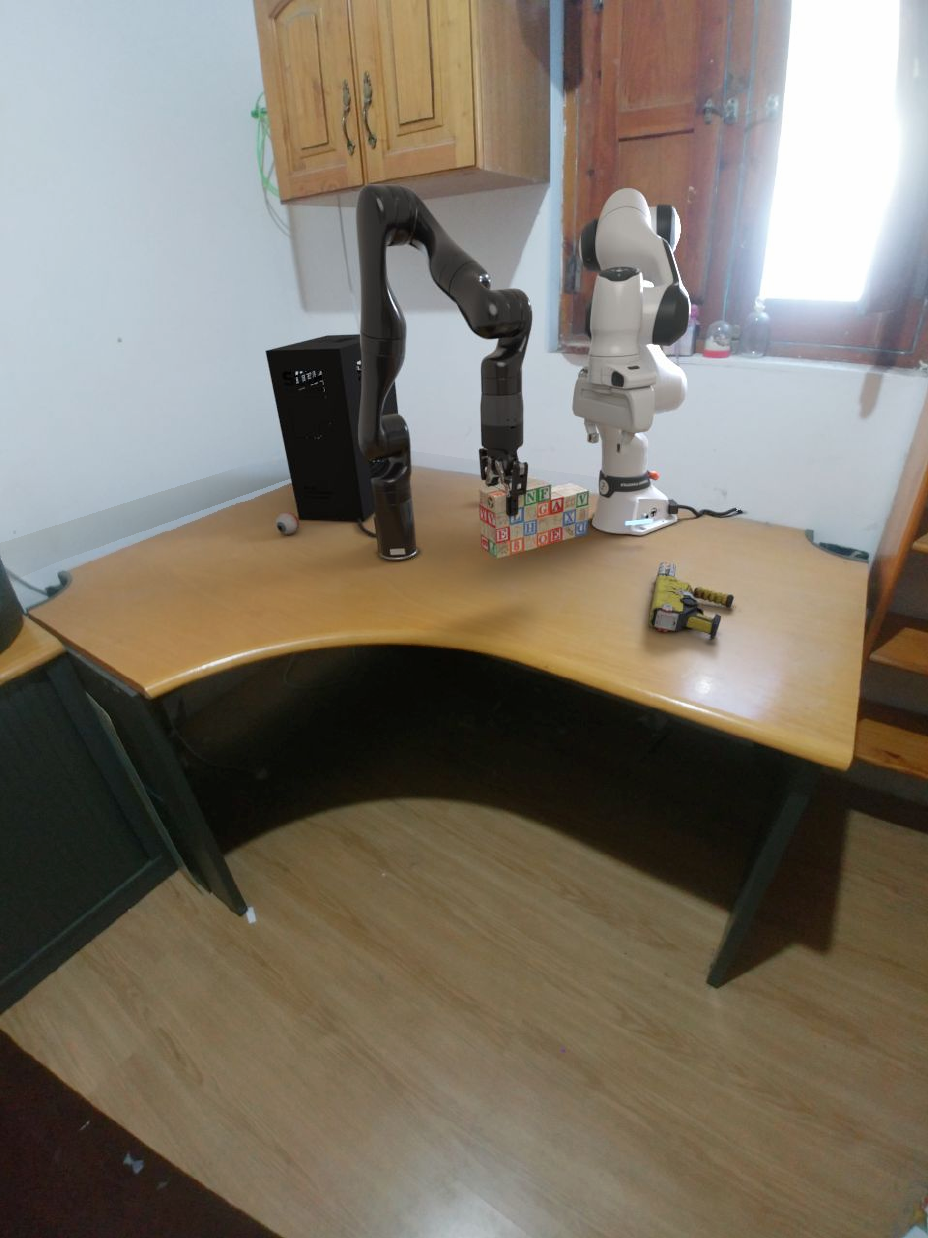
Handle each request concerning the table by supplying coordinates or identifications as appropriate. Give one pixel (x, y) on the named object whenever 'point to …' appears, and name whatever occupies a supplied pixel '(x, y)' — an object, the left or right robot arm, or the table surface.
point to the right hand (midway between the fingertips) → (607, 447)
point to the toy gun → (683, 604)
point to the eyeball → (287, 523)
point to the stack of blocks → (532, 517)
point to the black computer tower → (324, 426)
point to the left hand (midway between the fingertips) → (503, 509)
